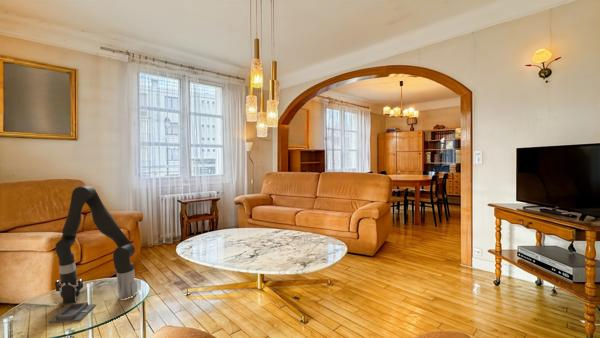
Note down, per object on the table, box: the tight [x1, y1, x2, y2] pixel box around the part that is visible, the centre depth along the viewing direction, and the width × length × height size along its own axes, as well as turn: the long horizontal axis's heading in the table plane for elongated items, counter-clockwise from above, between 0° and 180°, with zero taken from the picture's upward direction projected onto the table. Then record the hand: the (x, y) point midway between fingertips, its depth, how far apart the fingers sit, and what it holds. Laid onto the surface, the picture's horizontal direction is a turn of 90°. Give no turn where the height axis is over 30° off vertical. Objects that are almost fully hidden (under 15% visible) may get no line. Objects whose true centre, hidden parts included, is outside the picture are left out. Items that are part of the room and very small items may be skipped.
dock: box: [47, 301, 97, 324], centre depth 158 cm, size 16×14×3 cm
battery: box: [61, 284, 78, 304], centre depth 169 cm, size 7×4×11 cm, turn 97°
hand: (70, 296), depth 170 cm, fingers closed on battery, 7 cm apart
